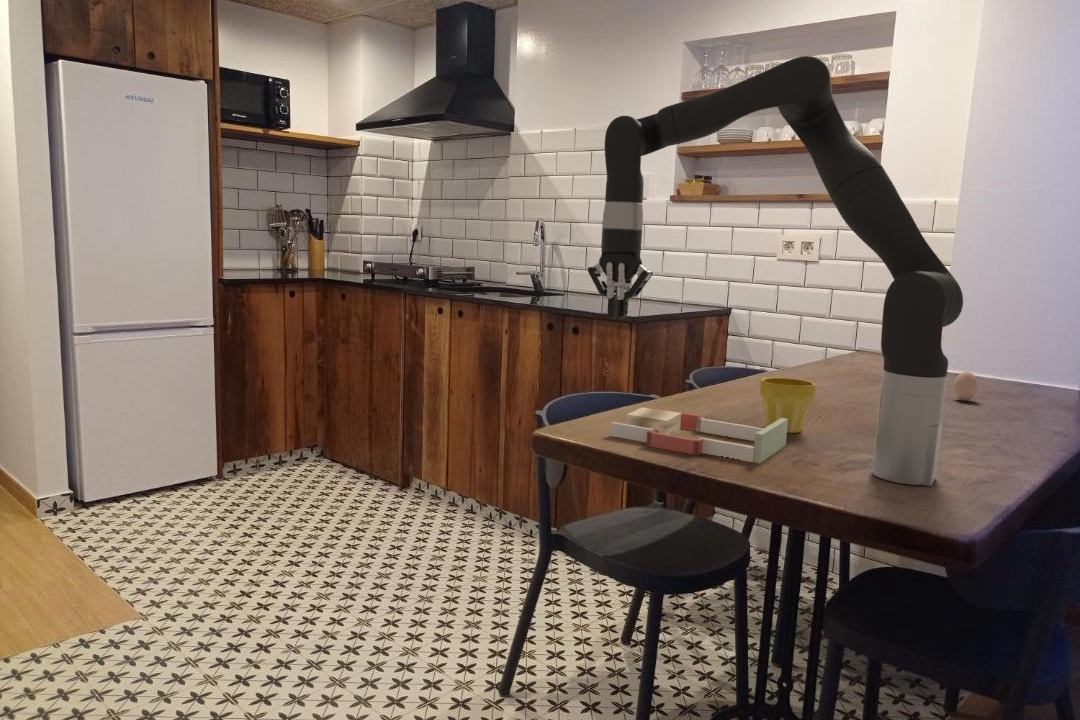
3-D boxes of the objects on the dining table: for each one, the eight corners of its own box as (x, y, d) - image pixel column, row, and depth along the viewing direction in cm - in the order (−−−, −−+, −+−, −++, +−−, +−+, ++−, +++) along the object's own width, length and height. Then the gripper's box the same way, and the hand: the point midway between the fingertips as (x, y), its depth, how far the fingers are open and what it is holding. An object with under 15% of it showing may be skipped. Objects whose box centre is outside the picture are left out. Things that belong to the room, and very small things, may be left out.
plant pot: (765, 420, 169) (769, 374, 168) (816, 428, 164) (820, 381, 163) (750, 429, 160) (754, 381, 159) (803, 438, 155) (808, 388, 154)
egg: (962, 403, 199) (966, 373, 198) (946, 398, 204) (950, 369, 203) (980, 402, 200) (984, 373, 199) (964, 398, 205) (968, 369, 204)
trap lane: (788, 443, 151) (791, 416, 150) (755, 466, 134) (758, 437, 133) (650, 419, 165) (652, 395, 165) (605, 438, 149) (606, 411, 148)
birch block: (679, 433, 156) (681, 413, 155) (665, 441, 149) (667, 420, 148) (640, 427, 160) (642, 407, 159) (625, 435, 153) (626, 414, 152)
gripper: (663, 229, 153) (657, 320, 156) (600, 226, 160) (595, 314, 163) (646, 227, 147) (640, 323, 149) (581, 225, 154) (576, 316, 156)
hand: (617, 318), depth 156 cm, fingers closed
